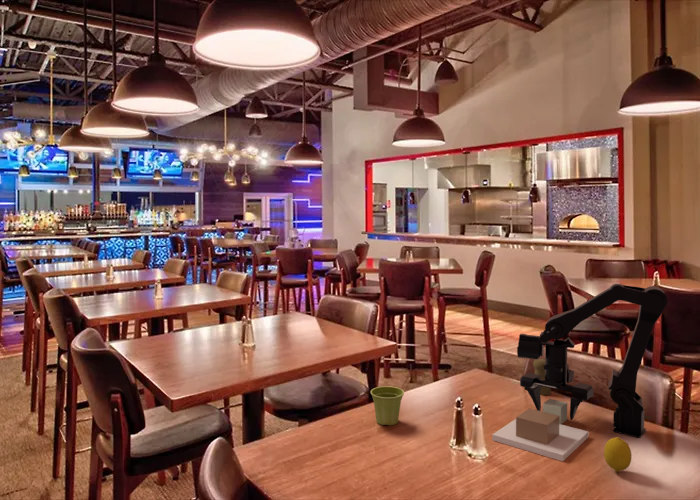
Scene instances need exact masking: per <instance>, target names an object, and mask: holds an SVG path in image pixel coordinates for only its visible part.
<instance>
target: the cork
mask: <svg viewBox="0 0 700 500" xmlns="http://www.w3.org/2000/svg"><path fill="white" fill-rule="evenodd" d="M532 364H533V367H534V368H533V369H534V373H533V374H537V375H540V376H541V379H543V380H544V379H545V369H544V365H545V358H539V360H538V359H534V361H533V363H532ZM550 394H551V395H552V388H548V387H543V386H542V387H541V391H540V395H548V396H551V395H550Z"/></svg>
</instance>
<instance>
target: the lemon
mask: <svg viewBox="0 0 700 500" xmlns="http://www.w3.org/2000/svg"><path fill="white" fill-rule="evenodd" d="M603 457H604V461H605V463H606V464H607V465H608V466H609V467H610V468H611V469H613V470H614V471H615V472H616V473H619V472H621V471H624V470H626V469H628V468H629V466H630V464H631V462H632V450H631V448H630V446H629V444H628V443H627V442H626V441H625V440H624V439H622V438H621V437H619V436H616V437H612V438H610V439H608V440H607V442H606V443H605V445H604V449H603Z"/></svg>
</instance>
